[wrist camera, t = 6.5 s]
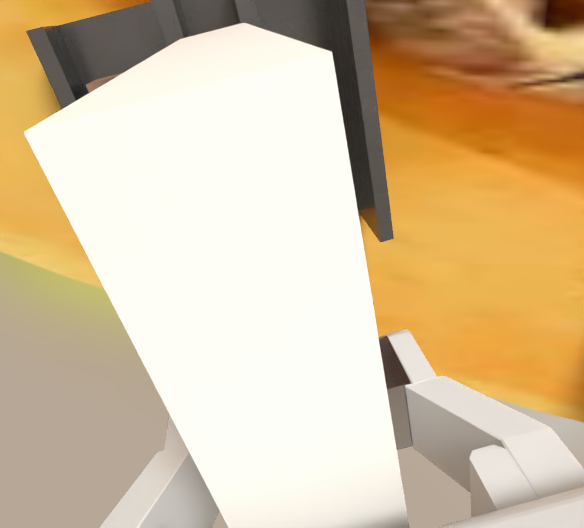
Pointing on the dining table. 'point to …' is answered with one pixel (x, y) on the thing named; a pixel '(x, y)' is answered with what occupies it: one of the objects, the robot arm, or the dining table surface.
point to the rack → (219, 14)
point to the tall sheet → (239, 270)
